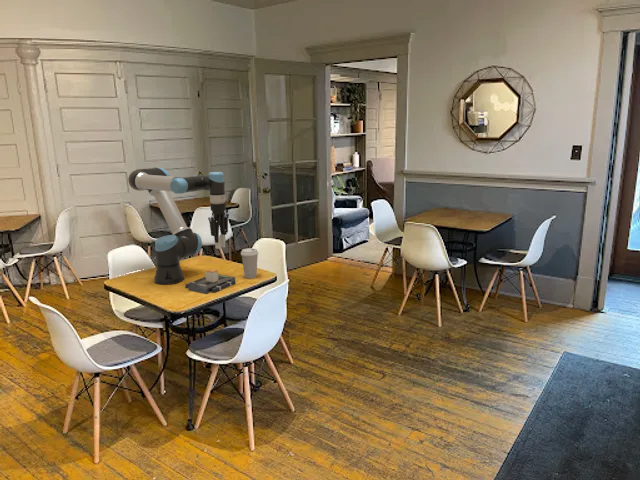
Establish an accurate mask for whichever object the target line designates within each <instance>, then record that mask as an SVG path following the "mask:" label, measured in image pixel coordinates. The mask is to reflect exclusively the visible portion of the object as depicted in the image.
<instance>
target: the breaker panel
mask: <svg viewBox="0 0 640 480" xmlns="http://www.w3.org/2000/svg"><path fill="white" fill-rule="evenodd" d="M232 280H234V281H235V282H236V277H235V276H230V275H225V274H219V273H218V281H216V282H208V281H206V279H203V280H201V281H198V282H196V283H193V284H191V285H188V288H187V289H188V291H191V292H196V293H200V294H204V295H207V294H210V293H212V289H213V288H215V287H216V286H220V285H222V284H225V283H226V282H229V281H232Z"/></svg>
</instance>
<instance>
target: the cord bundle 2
mask: <svg viewBox="0 0 640 480" xmlns="http://www.w3.org/2000/svg"><path fill="white" fill-rule="evenodd" d="M234 285H236V280H235V281H234V280H232V281H229V282H226V283H225V284H222V285H220V286H216V287H215V288H213V289H212V292H211V293H214V294H215V293H218V292H221V291H223V290H224V289H227V288H229V287H230V288H231V287H233V286H234Z"/></svg>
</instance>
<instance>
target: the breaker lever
mask: <svg viewBox="0 0 640 480" xmlns="http://www.w3.org/2000/svg"><path fill="white" fill-rule="evenodd" d="M218 274H219V269H215V268H209V269H206V270H205V277H206V281H208V282H216V281H218Z"/></svg>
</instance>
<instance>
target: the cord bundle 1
mask: <svg viewBox="0 0 640 480" xmlns="http://www.w3.org/2000/svg"><path fill="white" fill-rule="evenodd" d="M203 279H206V276H203V277H201V278H199V279H195V280H194V281H190V282H188V283H185V284H184V286H185V289H188V285H191V284H193V283H196V282H198V281H201V280H203Z"/></svg>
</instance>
